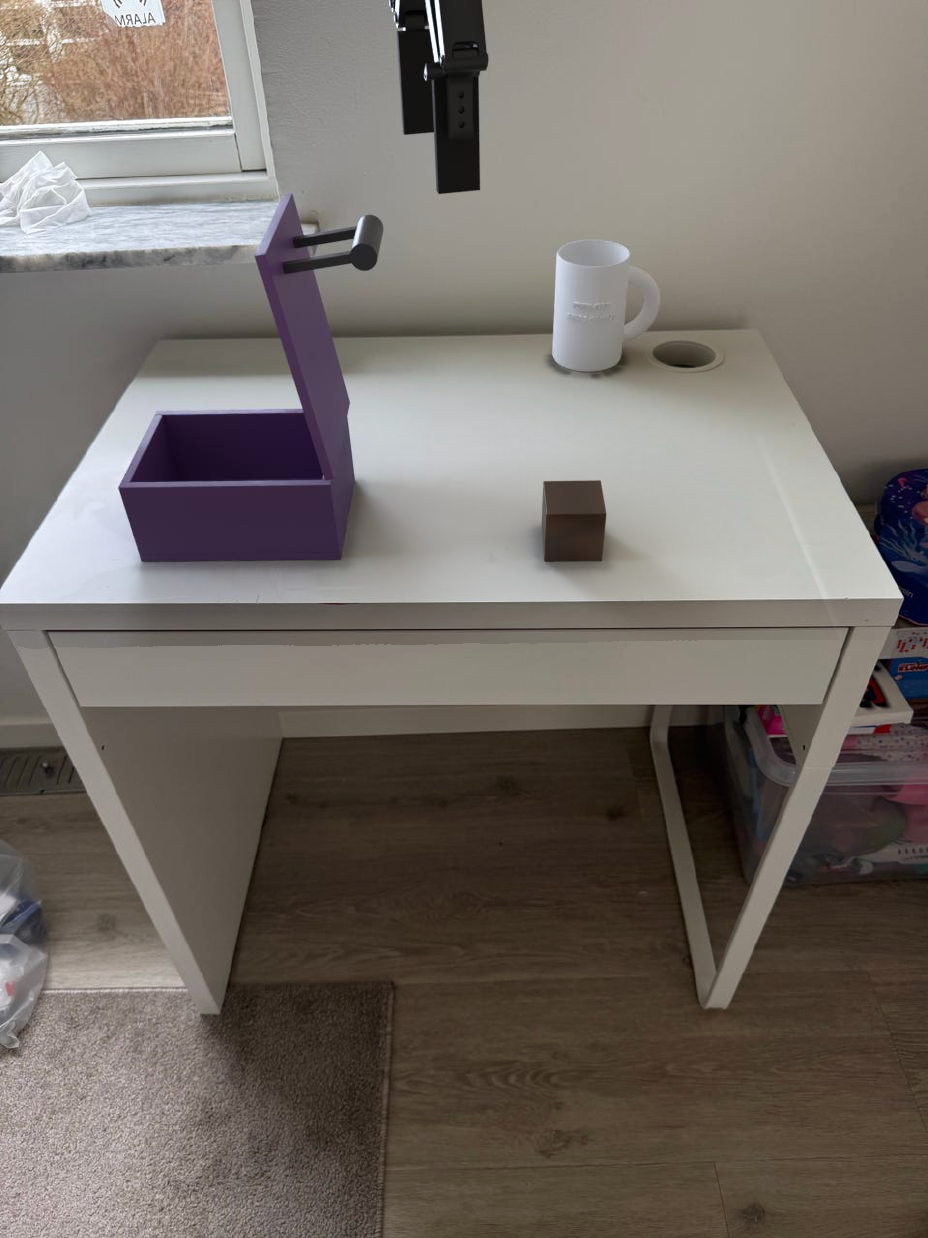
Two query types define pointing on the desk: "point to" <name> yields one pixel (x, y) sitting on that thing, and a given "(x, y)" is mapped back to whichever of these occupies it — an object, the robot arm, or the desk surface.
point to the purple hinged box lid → (312, 316)
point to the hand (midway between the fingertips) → (438, 159)
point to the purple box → (235, 488)
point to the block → (573, 520)
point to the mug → (597, 304)
